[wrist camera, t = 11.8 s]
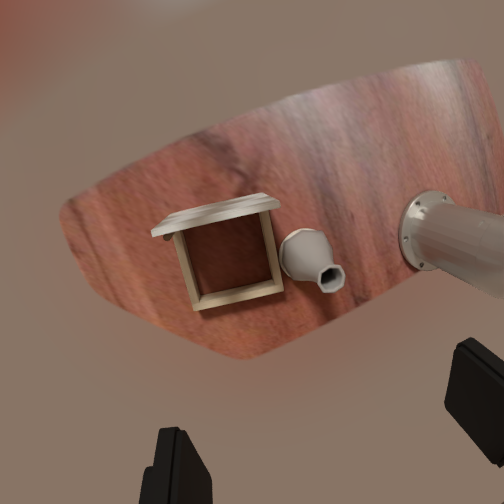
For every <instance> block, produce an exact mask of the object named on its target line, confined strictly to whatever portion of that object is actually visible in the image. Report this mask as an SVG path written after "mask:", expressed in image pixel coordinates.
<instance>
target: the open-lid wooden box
mask: <svg viewBox="0 0 504 504" xmlns="http://www.w3.org/2000/svg"><path fill="white" fill-rule="evenodd" d="M280 207H281V206H280V201H279V200H277V199H274V198H272V197H270V196H268V195H266V194H264V193H258V194H253V195H249V196H244V197H239V198H235V199H230V200H226V201H222V202H217V203H213V204H209V205H204V206H200V207H196V208H192V209H188V210H184V211H180V212H176V213H172V214H170V215H169V216H167V217H166V218H165V219H164V220H163V221H162V222H160V223H159V224H158V225H157V226H156V227H155V228H153V229H152V230H151V233H152V237H155V236H159V235H163V234H164V236H163V238H164V240H165V241H169V240H170V239H171V238H172V236H173V240H174V243H175V247H176V251H177V255H178V258H179V262H180V265H181V269H182V272H183V276H184V279H185V283H186V286H187V290H188V293H189V297H190V300H191V303H192V306H193V310H194V311H198V310H203V309H207V308H212V307H216V306H221V305H226V304H230V303H235V302H239V301H243V300H248V299H252V298H256V297H261V296H265V295H269V294H273V293H278V292H282V291H284V288H283V283H282V278H281V272H280V267H279V262H278V257H277V251H276V246H275V241H274V236H273V231H272V226H271V221H270V216H269V211H268V210H271V209H276V208H280ZM257 212H258V213H259V218H260V222H261V227H262V232H263V237H264V242H265V247H266V252H267V257H268V261H269V266H270V271H271V276H272V279H271V280H267V281H263V282H259V283H254V284H250V285H246V286H241V287H237V288H232V289H228V290H224V291H219V292H215V293H210V294H206V295H201V296H200V293H199V289H198V286H197V282H196V278H195V275H194V271H193V268H192V264H191V260H190V256H189V253H188V249H187V245H186V241H185V237H184V233H183V229H188V228H192V227H196V226H200V225H204V224H209V223H213V222H217V221H222V220H226V219H230V218H235V217H239V216H244V215H248V214H253V213H257Z"/></svg>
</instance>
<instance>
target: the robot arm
mask: <svg viewBox="0 0 504 504" xmlns="http://www.w3.org/2000/svg"><path fill="white" fill-rule="evenodd" d="M399 244H400V248H401V251H402V254H403V256H404V257H405V259H406V260H407V261H408V262H409V263H410V264H411V265H412V266H414V267H415V268H417V269H419V270H424V271H430V270H434V269H437V268H440V269H442V270H443V271H445V272H447V273H449V274H451V275H453V276H455V277H457V278H459V279H461V280H463V281H464V282H466V283H468V284H470V285H472V286H474V287H476V288H477V289H479V290H481V291H483V292H485V293H487V294H489V295H491V296H493V297H495V298H501V299H504V216H501V215H497V214H493V213H489V212H485V211H481V210H476V209H472V208H467V207H463V206H458V205H456V204H455V203H454V201H453V200H452V199H451V198H450V197H449V196H448V195H447V194H445V193H443V192H439V191H433V190H429V191H424V192H422V193H420V194H418V195H417V196H415V197H414V198H413V199H412V200H411V201H410V202H409V204H408V205H407V207H406V208H405V210H404V213H403V215H402V217H401V221H400V225H399ZM444 404H445V408H446V410H447V411H448V412H449V413H450V414H451V415H452V417H453V418H454V419H455V420H456V421H457V422H458V424H459V425H460V426H461V427H462V428H463V429H464V431H465V432H466V433H467V434H468V435H469V436H470V438H471V439H472V440H473V441H474V443H475V444H476V445H477V446H478V447H479V449H480V450H481V451H482V452H483V453H484V455H485V456H486V457H487V458H488V459H489V461H490V462H491V463H492V464H497V466H498V467H499V468H501V467H502V466H504V361H503V360H501V359H500V358H499V357H498V356H496V355H495V354H494V353H492V352H491V351H490V350H489V349H487V348H486V347H485V346H483V345H482V344H481V343H479V342H478V341H477V340H475V339H474V338H471V337H470V338H468V339H466V340H464V341H462V342H460V343H458V344H457V346H456V349H455V350H454V353H453V360H452V366H451V371H450V377H449V382H448V387H447V392H446V396H445V401H444ZM139 504H213V498H212V479H211V476H210V474H209V472H208V470H207V468H206V467H205V465H204V463H203V462H202V460H201V458H200V456H199V455H198V453H197V451H196V449H195V447H194V445H193V444H192V442H191V440H190V438H189V436H188V434H187V432H186V431H185V430H180V429H179V428H178V427H170V428H161V429H160V430H159V434H158V439H157V445H156V451H155V457H154V463H153V466H149V467H147V468H146V469H145V471H144V475H143V481H142V486H141V492H140V499H139ZM502 504H504V502H503V503H502Z"/></svg>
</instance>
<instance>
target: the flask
mask: <svg viewBox="0 0 504 504" xmlns="http://www.w3.org/2000/svg"><path fill="white" fill-rule="evenodd" d="M282 265H283V266H284V268H285V269H286V271H287V272H288V274H289V275H290V277H291V278H292V280H305V281H314V282H316V283H317V284H318V286H319V287H320V289H321V290H322V292H323V293H335V292H336V291H338V290H339V289H341V288H342V287H343V286H344V282H345V276H346V275H345V273H344V271H343V269H342V268H341V266H340V265H335V264H334V262H333V248H332V246H331V245H330V243H329V241H328V240H327V238H326V236H325V235H324V233H323V231H316V230H301V231H299V232H298V233H296V234H295V235H293V236H292V237H290V238H289V239H287V240H286V241H284V242H283V254H282Z"/></svg>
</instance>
